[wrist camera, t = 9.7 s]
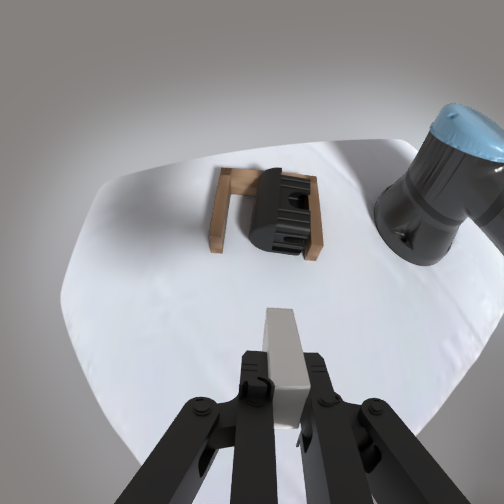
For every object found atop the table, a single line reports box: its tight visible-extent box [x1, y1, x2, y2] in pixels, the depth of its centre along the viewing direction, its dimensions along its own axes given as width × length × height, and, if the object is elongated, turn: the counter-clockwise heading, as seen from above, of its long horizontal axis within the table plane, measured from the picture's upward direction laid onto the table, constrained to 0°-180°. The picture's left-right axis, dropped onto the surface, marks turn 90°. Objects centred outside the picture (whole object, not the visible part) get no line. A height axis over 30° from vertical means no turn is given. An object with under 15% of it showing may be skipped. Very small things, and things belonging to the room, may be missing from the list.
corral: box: [209, 168, 324, 261], centre depth 38 cm, size 14×12×4 cm
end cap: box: [249, 168, 311, 255], centre depth 37 cm, size 10×7×7 cm
